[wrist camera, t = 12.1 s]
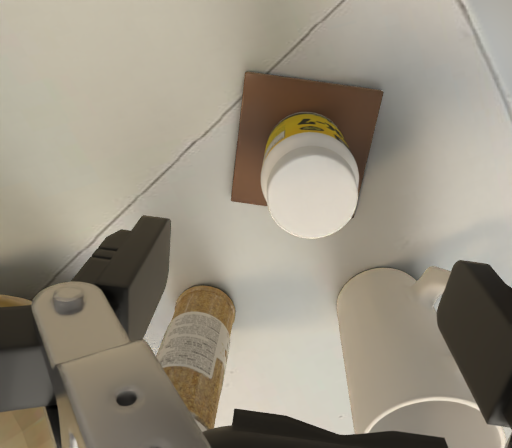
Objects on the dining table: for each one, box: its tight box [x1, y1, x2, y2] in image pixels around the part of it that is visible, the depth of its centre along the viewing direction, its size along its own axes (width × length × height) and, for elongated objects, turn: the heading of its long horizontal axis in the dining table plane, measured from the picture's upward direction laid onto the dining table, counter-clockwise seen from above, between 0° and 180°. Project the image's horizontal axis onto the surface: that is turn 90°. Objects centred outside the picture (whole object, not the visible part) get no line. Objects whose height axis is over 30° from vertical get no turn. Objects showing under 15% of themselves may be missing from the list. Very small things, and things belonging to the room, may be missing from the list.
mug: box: [337, 266, 506, 448], centre depth 25 cm, size 10×7×12 cm, turn 153°
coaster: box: [231, 71, 383, 218], centre depth 27 cm, size 8×8×1 cm
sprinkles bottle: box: [156, 285, 235, 432], centre depth 26 cm, size 5×5×13 cm
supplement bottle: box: [261, 112, 359, 239], centre depth 23 cm, size 5×5×8 cm
